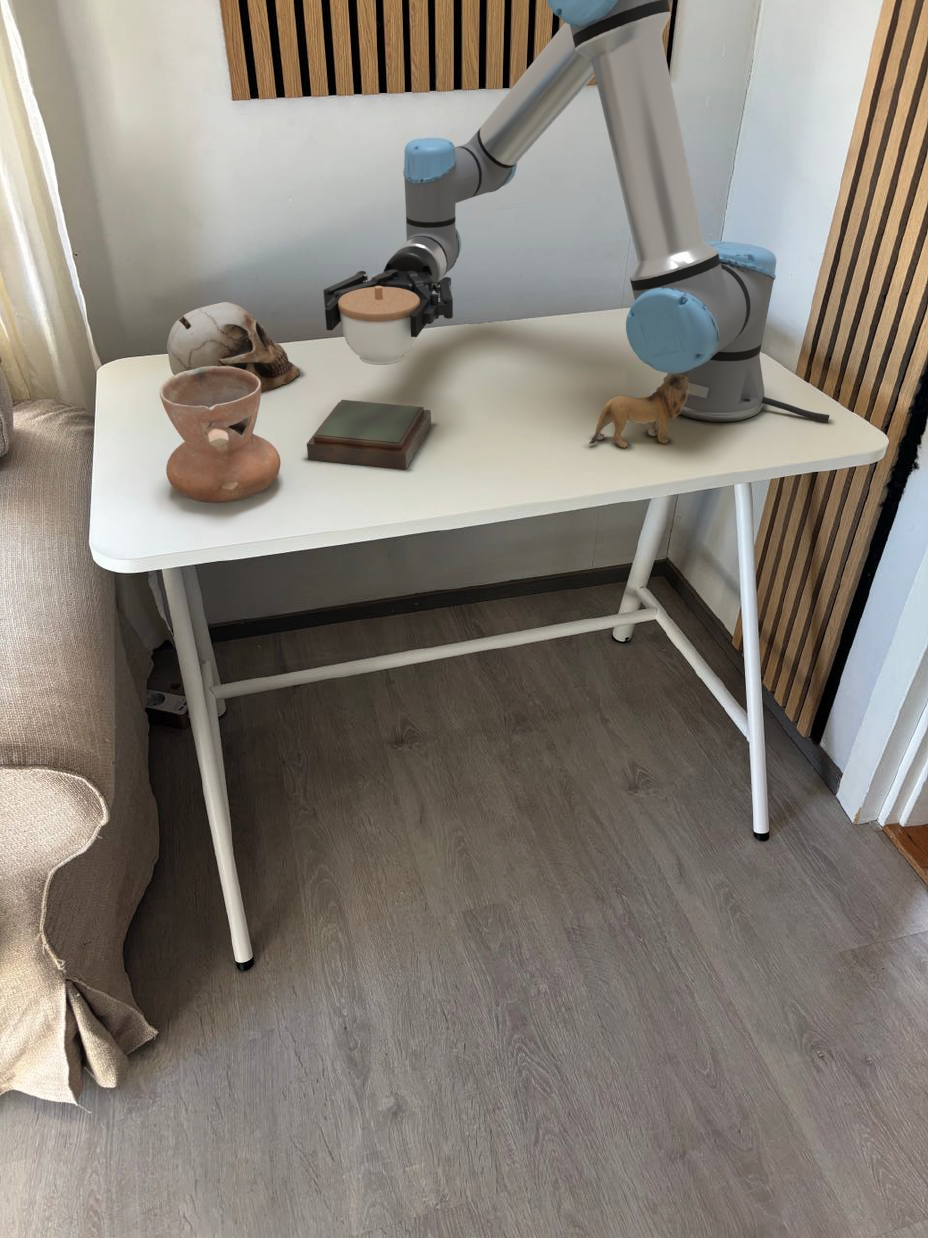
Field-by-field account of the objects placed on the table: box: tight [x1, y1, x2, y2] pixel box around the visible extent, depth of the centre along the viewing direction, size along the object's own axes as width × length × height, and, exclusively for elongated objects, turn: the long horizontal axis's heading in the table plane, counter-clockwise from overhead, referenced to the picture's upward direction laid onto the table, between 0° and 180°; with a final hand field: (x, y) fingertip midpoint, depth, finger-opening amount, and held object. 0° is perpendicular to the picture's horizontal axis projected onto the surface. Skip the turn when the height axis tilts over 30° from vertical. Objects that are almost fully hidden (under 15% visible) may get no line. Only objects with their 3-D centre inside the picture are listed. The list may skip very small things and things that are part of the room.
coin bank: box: [166, 301, 301, 392], centre depth 150 cm, size 16×17×13 cm
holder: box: [306, 399, 432, 470], centre depth 136 cm, size 14×14×3 cm
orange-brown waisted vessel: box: [159, 366, 282, 504], centre depth 123 cm, size 18×14×14 cm
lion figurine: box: [588, 373, 690, 448], centre depth 134 cm, size 15×5×9 cm, turn 110°
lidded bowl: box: [338, 286, 420, 366], centre depth 128 cm, size 11×11×9 cm
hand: (370, 323), depth 124 cm, fingers closed on lidded bowl, 11 cm apart
